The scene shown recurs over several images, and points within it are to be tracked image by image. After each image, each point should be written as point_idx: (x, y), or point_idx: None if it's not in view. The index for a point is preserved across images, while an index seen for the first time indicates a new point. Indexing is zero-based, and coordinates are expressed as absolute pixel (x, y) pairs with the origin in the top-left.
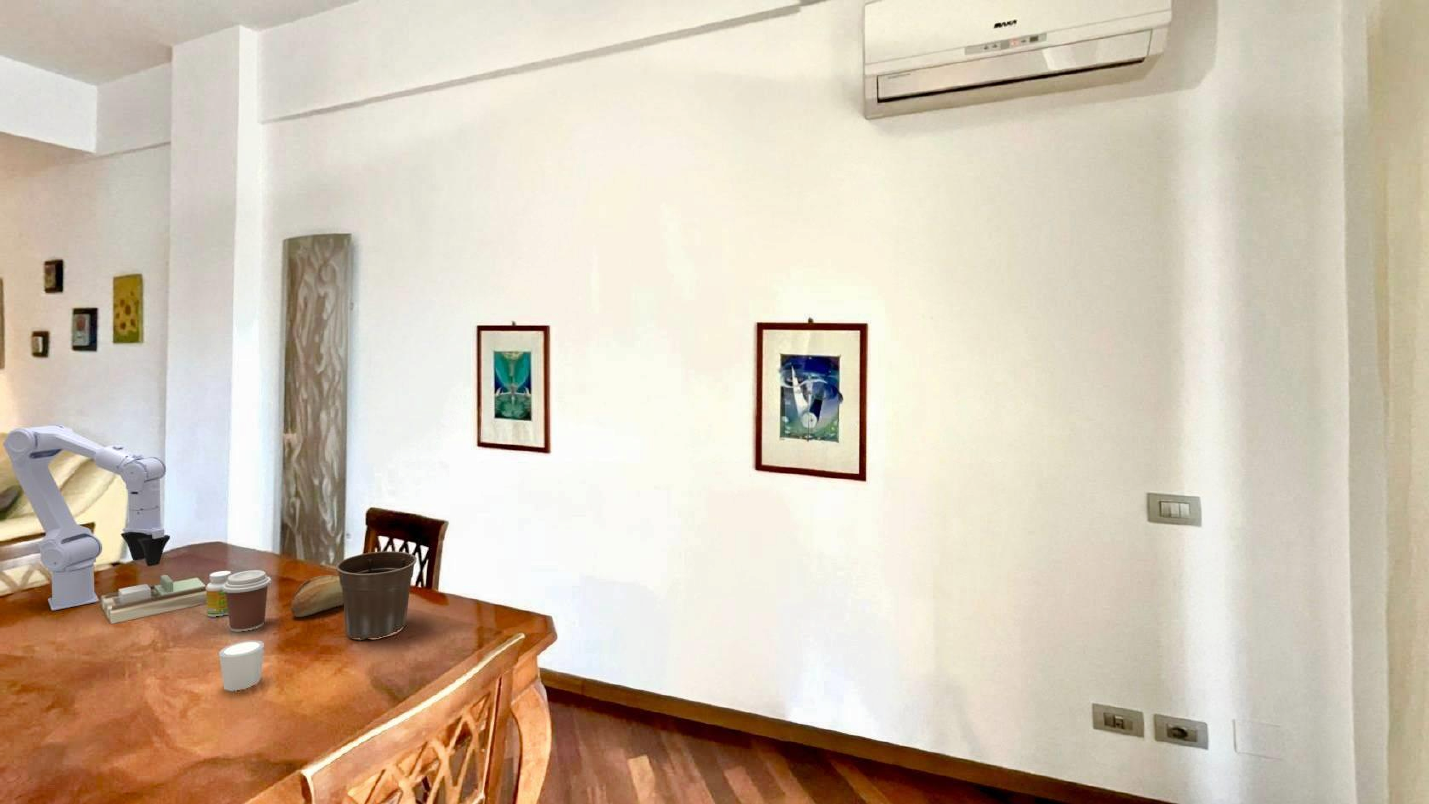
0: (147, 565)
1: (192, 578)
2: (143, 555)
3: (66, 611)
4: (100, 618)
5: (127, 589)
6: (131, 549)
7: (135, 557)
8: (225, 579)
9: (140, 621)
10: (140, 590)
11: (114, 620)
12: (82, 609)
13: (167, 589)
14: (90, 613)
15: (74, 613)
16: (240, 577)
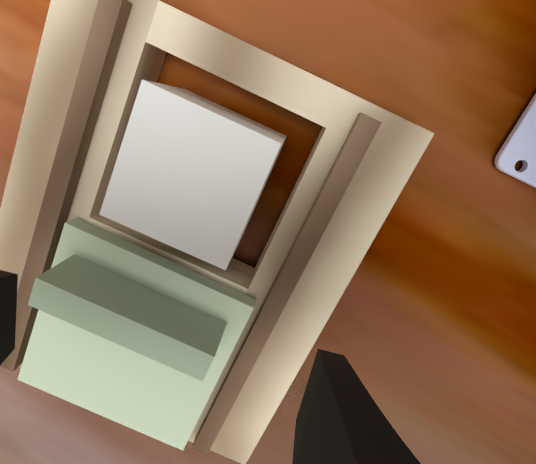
0: (4, 272)
1: (200, 440)
2: (297, 441)
3: (524, 10)
4: (234, 10)
5: (217, 157)
6: (343, 438)
7: (314, 379)
8: None
9: (15, 58)
10: (123, 173)
11: None
12: (466, 64)
13: (61, 263)
14: (361, 39)
15: (446, 6)
16: None
